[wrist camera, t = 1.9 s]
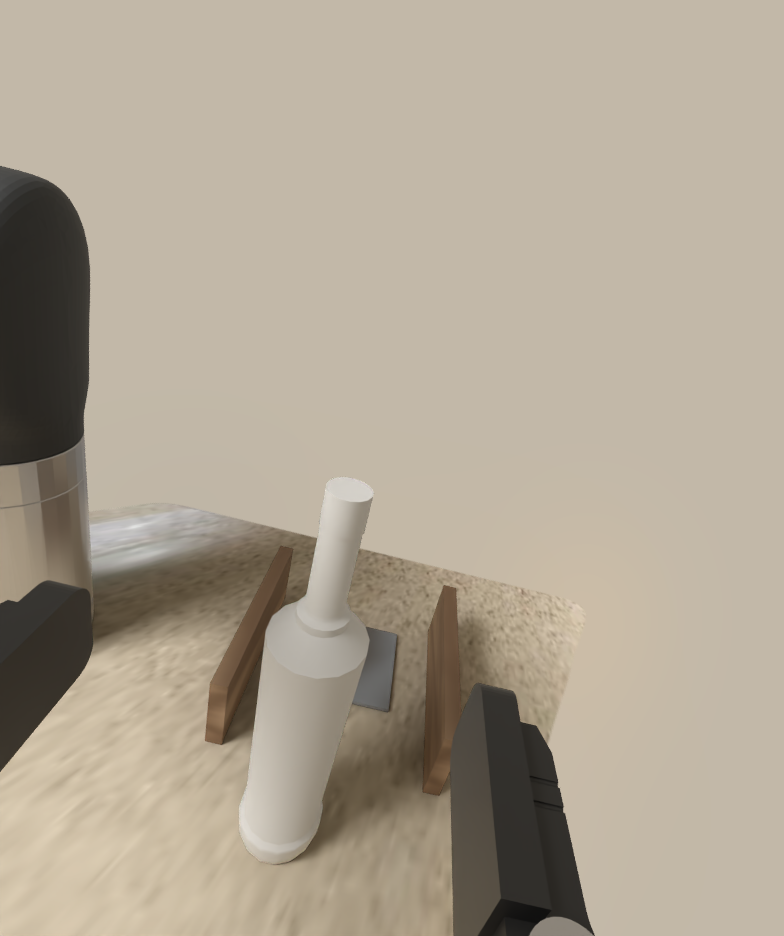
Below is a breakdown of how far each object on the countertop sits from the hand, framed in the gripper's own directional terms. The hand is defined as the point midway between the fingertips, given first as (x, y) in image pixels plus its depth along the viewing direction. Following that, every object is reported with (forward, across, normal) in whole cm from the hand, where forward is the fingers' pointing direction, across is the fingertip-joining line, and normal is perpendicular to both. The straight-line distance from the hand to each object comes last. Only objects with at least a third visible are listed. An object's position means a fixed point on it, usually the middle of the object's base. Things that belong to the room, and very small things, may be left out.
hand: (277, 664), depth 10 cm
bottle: (+11, 0, +27) cm, 29 cm away
